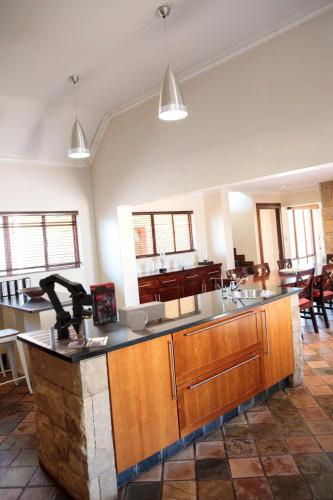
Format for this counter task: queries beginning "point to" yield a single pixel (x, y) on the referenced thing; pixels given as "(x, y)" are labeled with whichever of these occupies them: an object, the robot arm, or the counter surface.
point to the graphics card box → (103, 303)
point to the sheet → (96, 341)
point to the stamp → (80, 334)
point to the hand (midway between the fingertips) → (79, 332)
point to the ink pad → (76, 344)
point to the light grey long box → (152, 308)
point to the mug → (138, 320)
